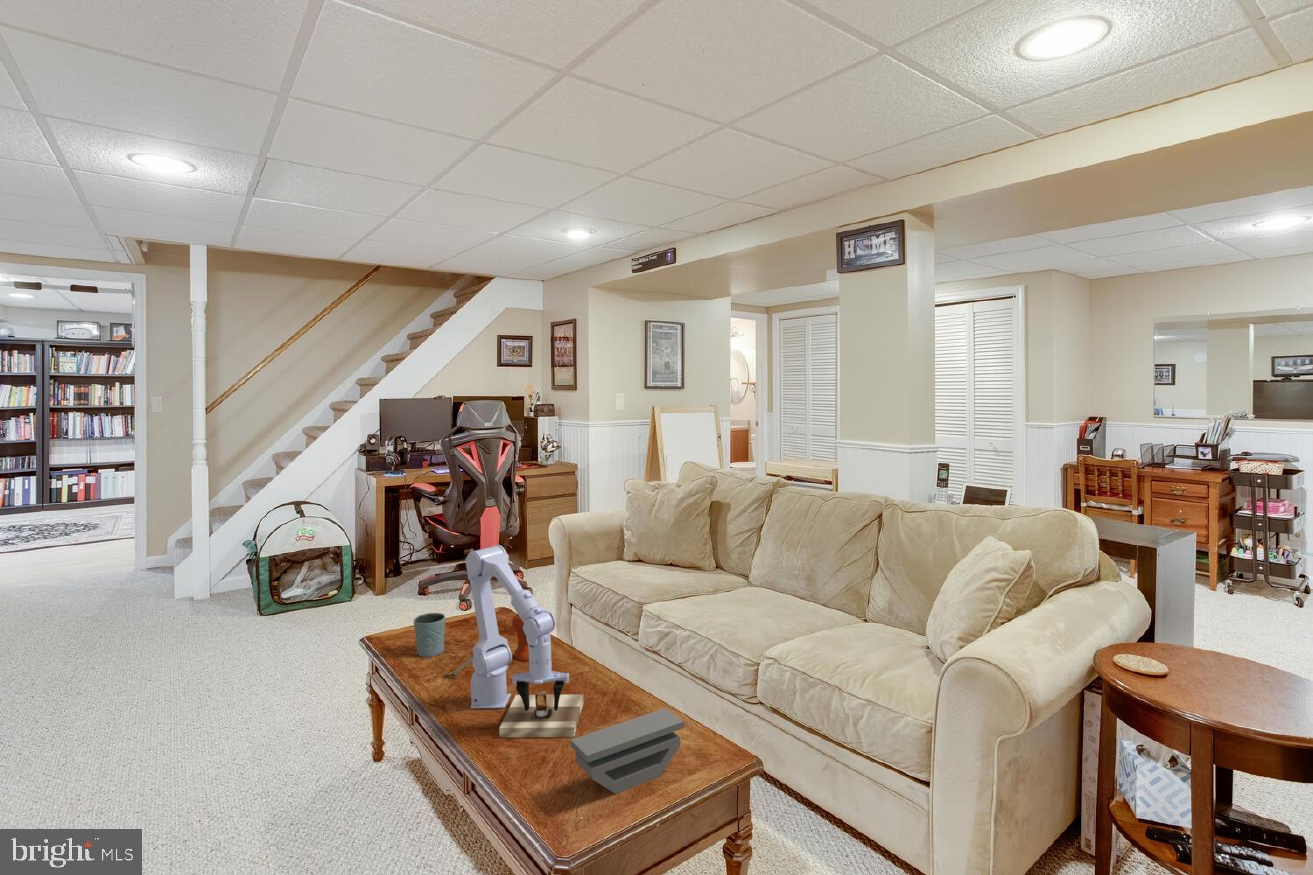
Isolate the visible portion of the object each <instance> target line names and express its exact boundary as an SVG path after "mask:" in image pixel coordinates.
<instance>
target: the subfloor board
mask: <svg viewBox="0 0 1313 875" xmlns="http://www.w3.org/2000/svg"><path fill="white" fill-rule="evenodd" d="M584 703H585V702H584V694H580V693H579V694H577V693H576V694H573V693H572V694H560V698H559V704H558V709H557V711H554V694H547V710H548V719H536V703H535V694H529V709H528V711H525V707H524V704H523V701H522V699H521V697H520V695H519V694H515V695H514V698H513V700H512V702H511V704H510V706H509V707H508V709H507V712H506V714H505V716H504V717H503V720H502V722H501V723H500V726H499V728H498V729H499V731H498V732H499V738H575V736H576V733H575V732H577V728H578V725H579V722H580V718H581V714H582V711H581V710H583V706H584ZM579 717H580V718H579Z"/></svg>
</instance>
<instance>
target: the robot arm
mask: <svg viewBox="0 0 1313 875" xmlns="http://www.w3.org/2000/svg"><path fill="white" fill-rule="evenodd" d="M509 557H510V556H509V554H508V553H507V551H506V549H505V548H504V547H503V546H502V545H500V544H496V545H493V546H490V547H486V548H485V547H484V548H483V549H477V550H471V551H470V552H469V553H468V554H467V556H466V557H465V566H466V572H467V579H468V581H470V582H469V583H470V587H471V588H470V589H471V595H472V600H473V607H474V613H475V618H476V619H475V620H476V624H477V629H478V634H479V635H478V638H479V639H478V641H477V642H476V644H475V645H474V646H473V647H472V656H473V660H472V661H471V662H472V667H473V670H474V672H473V673H472V676H471V679H470V680H471V681H470V697H471V698H470V699H471V700H470V701H471V706H470V708H471V709H505V708H506V706H507V704H508V702H509V700H510V698H511V696H512V693H508V692H507V690H508V689H507V687H508V686H507V685H508V684H507V670H508V669H509V665H510V664H511V662H512V660H513V653H512V651H511V648H510V647H509V646H510V645H509V644H508V642H509V641H508V638H506V637H503V636H501V635H500V634H499V633H500V632H499V627H498V622H497V615H496V608H495V603H494V598H493V591H492V585H491V579H492V578H493V577H494V578H496V579H497V581H498V583H500V585H501V586H502V587H503V588H504V589H505V591H506V592H507V593H508V594H509V596H510V597H511V600H510V606H512V608H513V609H514V611H515V612H516V613H517V614H518V615H519V616H520V618H521V619H522V621H523V622H524V625H523V630H524V633H525V635H526V640H527V643H528V644H529V645H528V646H529V661H528V664H529V665H528V669H529V670H528V671H527V672H526V671H525V672H520V673H519V672H518V673H513V675H512V677H511V678H512V685H515V686H516V687H515V689H516V692H517V693H518V695H520V697H521V699H522V701H523V704H524V707H525V711H528V709H529V695H530V692H529V691H530V690H529V689H530V683H533V684H534V685H541V684H543V683H554V684H553V686H552V691H553V695H554V711H557V709H558V704H559V698H560V695H562V691H563V688H564V687H565V684H569V682H570V674H569V672H558V671H553V670H552V640H551V637H552V636H551V632H553V631H554V630H555V627H556V621H555V617H554V616H553V614H552V612H551V611H549V610H547V609H545V608H544V607H541V606H540V604H539V603H538V601H537V600H536V598H535V597H534V596H533V594H532V592H531V591H530V590H528V589H523V588H522V586H521V584H520V581H519V580H518V578H517V577H516V575H515V573H514V572H513V570H512V568H511V567H510V565H509V561H510V560H509Z"/></svg>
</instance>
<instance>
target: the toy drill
mask: <svg viewBox="0 0 1313 875" xmlns="http://www.w3.org/2000/svg"><path fill="white" fill-rule="evenodd" d="M511 623H512V624H511V625H512V628H513V630H514V631H515V632H516V634H517V648H516V649H515V650H514V654H513V655H514V658H515V659H516V660H518V661H521V662H529V644H528V643H527V640H526V635H525V633H524V630H523V625H524V622H523V621H522V619H521V618H520V616H519V615H518V613H517V614H516V615H515V616H514V617H513V619H512V621H511Z"/></svg>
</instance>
